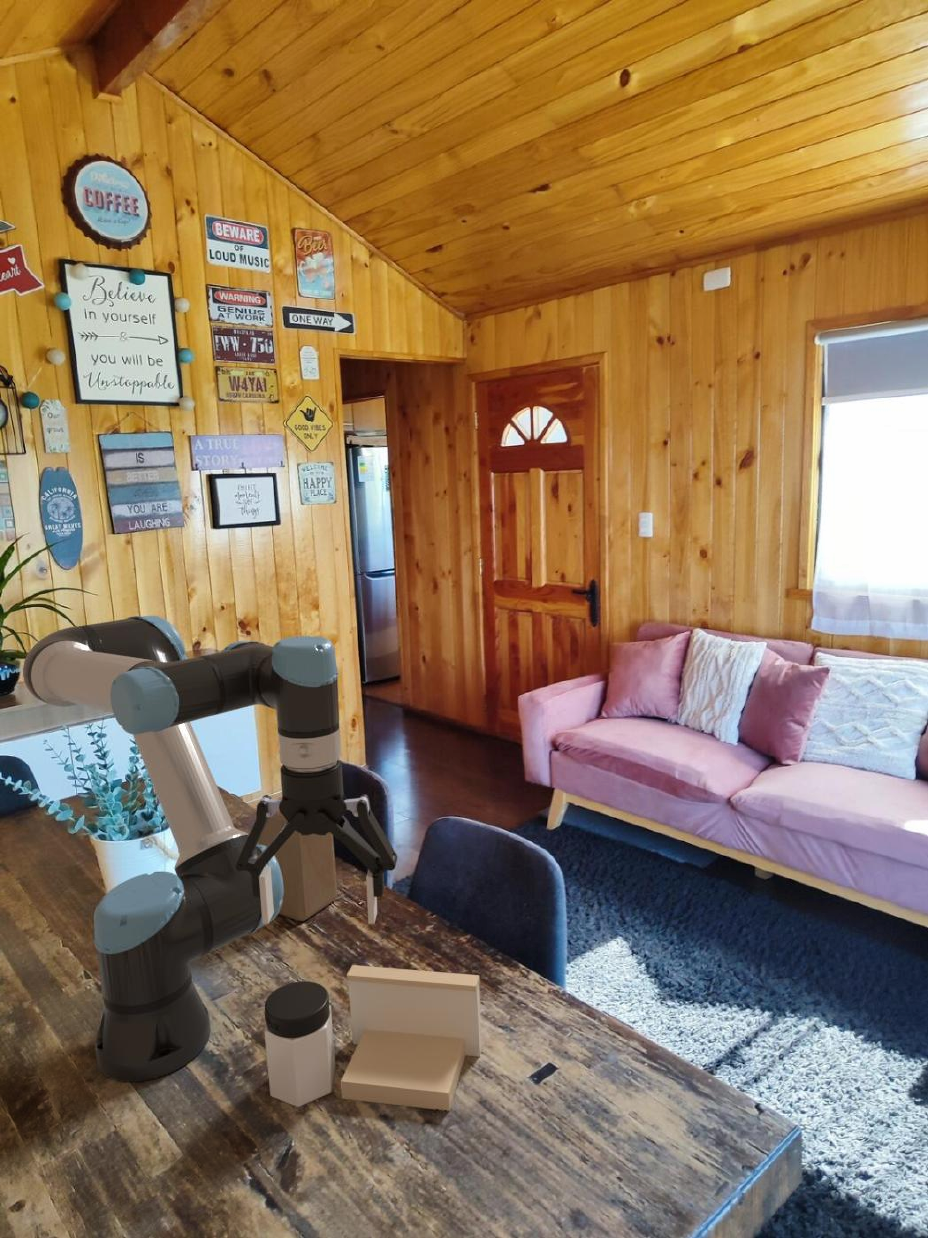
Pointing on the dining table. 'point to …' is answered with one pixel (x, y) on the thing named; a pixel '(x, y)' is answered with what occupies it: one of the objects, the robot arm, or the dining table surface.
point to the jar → (299, 1043)
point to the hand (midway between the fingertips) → (320, 918)
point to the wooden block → (303, 869)
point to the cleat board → (410, 1035)
